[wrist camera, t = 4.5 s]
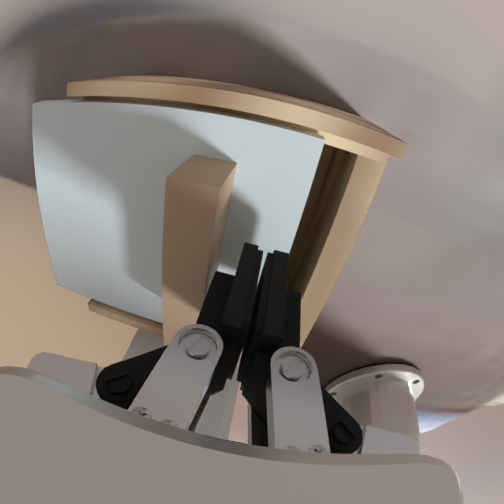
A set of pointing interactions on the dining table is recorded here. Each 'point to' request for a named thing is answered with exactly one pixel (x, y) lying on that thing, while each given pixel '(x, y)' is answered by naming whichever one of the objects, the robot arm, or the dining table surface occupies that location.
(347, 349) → the dining table surface
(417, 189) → the dining table surface
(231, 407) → the supplement box
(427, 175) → the dining table surface
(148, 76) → the box
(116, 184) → the lid
